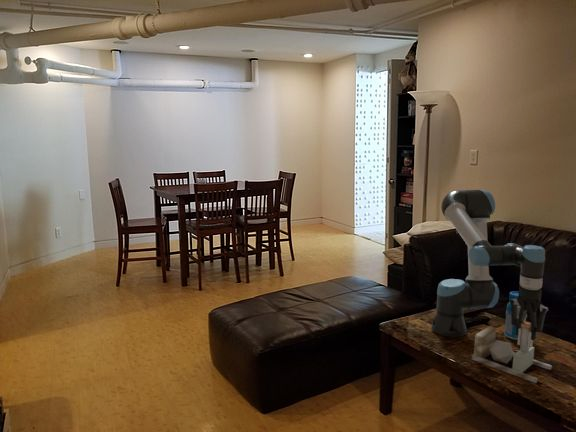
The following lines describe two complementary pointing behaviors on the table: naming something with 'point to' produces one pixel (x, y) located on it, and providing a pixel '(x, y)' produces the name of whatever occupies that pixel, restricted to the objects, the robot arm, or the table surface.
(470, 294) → the robot arm
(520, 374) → the vise bed
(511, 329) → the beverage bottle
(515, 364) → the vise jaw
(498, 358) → the die
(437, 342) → the table surface
